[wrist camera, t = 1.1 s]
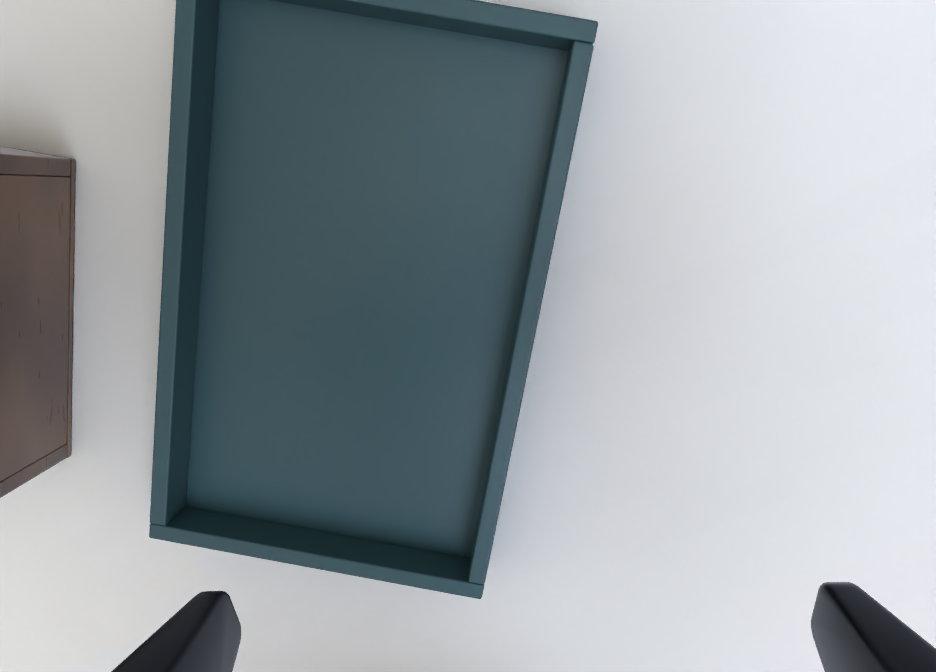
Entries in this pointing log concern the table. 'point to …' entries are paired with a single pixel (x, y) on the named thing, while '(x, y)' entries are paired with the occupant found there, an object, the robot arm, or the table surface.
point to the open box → (35, 313)
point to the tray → (356, 275)
